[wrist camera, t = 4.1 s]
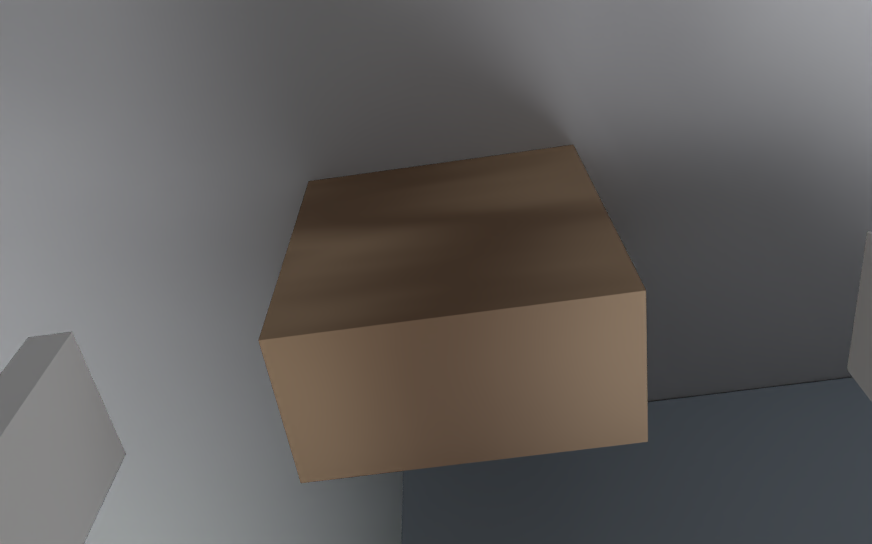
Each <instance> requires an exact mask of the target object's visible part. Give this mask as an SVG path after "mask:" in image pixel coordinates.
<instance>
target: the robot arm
mask: <svg viewBox="0 0 872 544" xmlns="http://www.w3.org/2000/svg"><path fill="white" fill-rule="evenodd" d="M847 370H848V372H849V373H850V374H851V376H852V377H853V378H854V380H855V381H856V382H857V383H858V385H859V386H860V387H861V389H862V390H863V391H864V393H865V394H866V395H867V396H868V398H869V399H870V400H871V402H872V231H867V237H866V243H865V250H864V257H863V264H862V271H861V277H860V284H859V291H858V298H857V305H856V311H855V318H854V325H853V332H852V339H851V346H850V352H849V359H848V366H847ZM125 455H126V453H125V451H124V448H123V446H122V444H121V442H120V439H119V437H118V435H117V433H116V430H115V428H114V426H113V423H112V421H111V419H110V417H109V414H108V412H107V410H106V408H105V405H104V403H103V401H102V399H101V396H100V394H99V392H98V390H97V387H96V385H95V383H94V380H93V378H92V376H91V374H90V371H89V369H88V367H87V365H86V362H85V360H84V358H83V356H82V353H81V351H80V349H79V347H78V344H77V342H76V340H75V337H74V335H73V333H72V332H66V333H58V334H50V335H42V336H34V337H28V338H27V340H26V341H25V342H24V344H23V345H22V346H21V347H20V349H19V350H18V351H17V353H16V354H15V355H14V357H13V358H12V359H11V361H10V362H9V363H8V365H7V366H6V367H5V369H4V370H3V371H2V372H1V374H0V544H84V542H85V540H86V538H87V536H88V534H89V532H90V530H91V527H92V525H93V523H94V521H95V519H96V517H97V515H98V512H99V510H100V508H101V506H102V504H103V502H104V500H105V497H106V495H107V493H108V491H109V489H110V487H111V485H112V483H113V480H114V478H115V476H116V474H117V472H118V470H119V468H120V465H121V463H122V461H123V459H124V457H125Z"/></svg>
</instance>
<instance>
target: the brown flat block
mask: <svg viewBox="0 0 872 544" xmlns="http://www.w3.org/2000/svg"><path fill="white" fill-rule="evenodd" d="M259 344H260V347H261V351H262V354H263V357H264V361H265V364H266V367H267V371H268V374H269V377H270V381H271V384H272V388H273V391H274V394H275V398H276V401H277V404H278V408H279V411H280V415H281V418H282V421H283V425H284V428H285V431H286V435H287V438H288V442H289V445H290V448H291V452H292V455H293V458H294V462H295V465H296V468H297V472H298V475H299V479H300V482H301V483H306V482H315V481H323V480H331V479H340V478H348V477H357V476H365V475H373V474H382V473H390V472H398V471H407V470H415V469H424V468H432V467H440V466H449V465H457V464H466V463H474V462H482V461H491V460H499V459H508V458H516V457H524V456H533V455H541V454H550V453H558V452H566V451H575V450H583V449H591V448H600V447H608V446H617V445H625V444H633V443H642V442H648V404H647V326H646V289H645V287H644V285H643V283H642V281H641V279H640V277H639V275H638V273H637V271H636V269H635V267H634V265H633V263H632V261H631V259H630V257H629V255H628V253H627V251H626V249H625V247H624V245H623V243H622V241H621V239H620V237H619V235H618V233H617V231H616V229H615V227H614V225H613V223H612V221H611V219H610V217H609V215H608V213H607V211H606V209H605V207H604V205H603V203H602V201H601V199H600V197H599V195H598V193H597V191H596V189H595V187H594V185H593V183H592V181H591V179H590V177H589V175H588V173H587V171H586V169H585V167H584V165H583V163H582V161H581V159H580V157H579V155H578V153H577V151H576V149H575V147H574V145H568V146H560V147H553V148H546V149H539V150H531V151H524V152H517V153H510V154H502V155H495V156H488V157H481V158H473V159H466V160H459V161H452V162H444V163H437V164H430V165H423V166H415V167H408V168H401V169H394V170H386V171H379V172H372V173H365V174H357V175H350V176H343V177H336V178H328V179H321V180H314V181H309V182H308V185H307V188H306V191H305V195H304V198H303V201H302V204H301V207H300V210H299V214H298V217H297V220H296V223H295V226H294V229H293V233H292V236H291V239H290V242H289V245H288V248H287V252H286V255H285V258H284V261H283V264H282V267H281V271H280V274H279V277H278V280H277V283H276V286H275V290H274V293H273V296H272V299H271V302H270V306H269V309H268V312H267V315H266V318H265V321H264V325H263V328H262V331H261V334H260V337H259Z"/></svg>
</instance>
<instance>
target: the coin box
mask: <svg viewBox="0 0 872 544" xmlns="http://www.w3.org/2000/svg"><path fill="white" fill-rule="evenodd" d="M647 404H648V442H642V443H633V444H625V445H617V446H608V447H600V448H591V449H583V450H575V451H566V452H558V453H550V454H541V455H533V456H524V457H516V458H508V459H499V460H491V461H482V462H474V463H466V464H457V465H449V466H440V467H432V468H424V469H415V470H407V471H403V505H402V544H872V402H871V400H870V399H869V398H868V396H867V395H866V394H865V393H864V391H863V390H862V389H861V387H860V386H859V385H858V383H857V382H856V381H855V380H854V378H853V377H852V378H844V379H835V380H827V381H819V382H811V383H802V384H794V385H786V386H778V387H769V388H761V389H753V390H745V391H737V392H728V393H720V394H712V395H704V396H695V397H687V398H679V399H671V400H662V401H654V402H647Z"/></svg>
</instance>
